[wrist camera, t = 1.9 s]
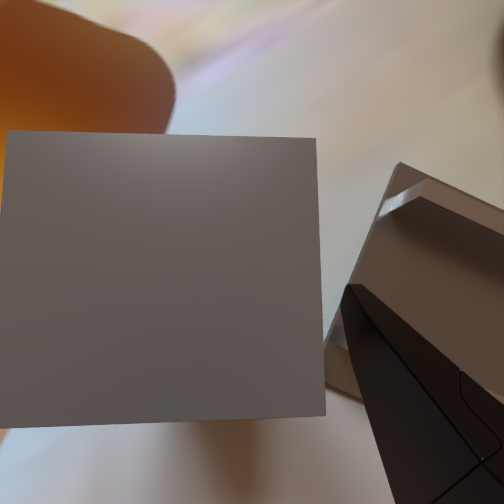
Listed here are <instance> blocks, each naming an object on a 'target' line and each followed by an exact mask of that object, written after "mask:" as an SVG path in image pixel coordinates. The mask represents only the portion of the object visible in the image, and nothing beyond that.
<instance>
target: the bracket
mask: <svg viewBox="0 0 504 504" xmlns="http://www.w3.org/2000/svg"><path fill="white" fill-rule="evenodd" d="M348 283H361V284H363V285H364V286H365V287H366V288H367V289H369V290H370V291H371V292H372V293H373V294H374V295H376V296H377V297H378V298H379V299H380V300H381V301H382V302H384V303H385V304H386V305H387V306H388V307H389V308H391V309H392V310H393V311H394V312H395V313H396V314H398V315H399V316H400V317H401V318H402V319H403V320H405V321H406V322H407V323H408V324H409V325H410V326H411V327H413V328H414V329H415V330H416V331H417V332H418V333H420V334H421V335H422V336H423V337H424V338H425V339H427V340H428V341H429V342H430V343H431V344H432V345H434V346H435V347H436V348H437V349H438V350H439V351H441V352H442V353H443V354H444V355H445V356H446V357H447V358H449V359H450V360H451V361H452V362H453V363H454V364H456V365H457V366H458V367H459V368H460V371H461V370H462V371H464V372H465V373H466V374H467V375H469V376H470V377H471V378H472V379H473V380H474V381H475V382H477V383H478V384H479V385H480V386H482V387H483V388H484V389H485V390H486V391H488V392H489V393H490V394H491V395H492V396H494V397H495V398H496V399H497V400H499V401H500V402H501V403H502V404H504V210H502V209H500V208H498V207H495V206H493V205H491V204H489V203H487V202H485V201H483V200H480V199H478V198H476V197H474V196H472V195H470V194H468V193H465V192H463V191H461V190H459V189H457V188H455V187H453V186H451V185H448V184H446V183H444V182H442V181H440V180H438V179H436V178H433V177H431V176H429V175H427V174H425V173H423V172H421V171H419V170H416V169H414V168H412V167H410V166H408V165H406V164H404V163H401V162H400V163H398V164H397V165H396V166H395V169H394V171H393V174H392V176H391V179H390V181H389V184H388V186H387V189H386V191H385V193H384V196H383V198H382V201H381V203H380V206H379V208H378V211H377V213H376V216H375V218H374V221H373V223H372V226H371V228H370V230H369V233H368V235H367V238H366V240H365V243H364V245H363V248H362V250H361V253H360V255H359V258H358V260H357V263H356V265H355V267H354V270H353V272H352V275H351V277H350V280H349V282H348ZM340 303H341V302H340ZM323 346H324V373H325V383H327V384H329V385H331V386H334V387H336V388H338V389H340V390H342V391H345V392H347V393H349V394H351V395H353V396H356V397H358V398H360V399H362V396H361V393H360V389H359V386H358V383H357V380H356V377H355V373H354V370H353V367H352V364H351V360H350V357H349V352H348V347H347V342H346V337H345V332H344V326H343V321H342V316H341V310H340V304H339V307H338V309H337V312H336V314H335V317H334V319H333V322H332V324H331V327H330V329H329V332H328V334H327V337H326V339H325V342H324V344H323ZM362 400H363V399H362Z"/></svg>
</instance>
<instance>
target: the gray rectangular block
mask: <svg viewBox="0 0 504 504" xmlns="http://www.w3.org/2000/svg"><path fill="white" fill-rule="evenodd" d="M315 416H326V401H325V373H324V346H323V319H322V291H321V264H320V237H319V210H318V182H317V155H316V138H288V137H248V136H208V135H168V134H128V133H127V134H126V133H86V132H48V131H8V132H7V144H6V155H5V167H4V179H3V191H2V203H1V214H0V429H2V428H3V429H4V428H30V427H56V426H82V425H108V424H134V423H160V422H185V421H211V420H237V419H263V418H289V417H315Z"/></svg>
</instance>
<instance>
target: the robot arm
mask: <svg viewBox="0 0 504 504" xmlns="http://www.w3.org/2000/svg"><path fill="white" fill-rule="evenodd" d="M340 310H341V316H342V321H343V326H344V332H345V337H346V342H347V347H348V352H349V357H350V360H351V364H352V367H353V370H354V373H355V377H356V380H357V383H358V386H359V389H360V393H361V396H362V399H363V402H364V405H365V409H366V412H367V415H368V418H369V421H370V424H371V428H372V431H373V434H374V437H375V440H376V444H377V447H378V450H379V453H380V456H381V460H382V463H383V466H384V469H385V472H386V476H387V479H388V482H389V485H390V488H391V491H392V495H393V498H394V501H395V504H504V404H502V403H501V402H500V401H499V400H497V399H496V398H495V397H494V396H492V395H491V394H490V393H489V392H488V391H486V390H485V389H484V388H483V387H482V386H480V385H479V384H478V383H477V382H475V381H474V380H473V379H472V378H471V377H470V376H469V375H467V374H466V373H465V372H464V371H462V370H461V371H460V368H459V367H458V366H457V365H456V364H454V363H453V362H452V361H451V360H450V359H449V358H447V357H446V356H445V355H444V354H443V353H442V352H441V351H439V350H438V349H437V348H436V347H435V346H434V345H432V344H431V343H430V342H429V341H428V340H427V339H425V338H424V337H423V336H422V335H421V334H420V333H418V332H417V331H416V330H415V329H414V328H413V327H411V326H410V325H409V324H408V323H407V322H406V321H405V320H403V319H402V318H401V317H400V316H399V315H398V314H396V313H395V312H394V311H393V310H392V309H391V308H389V307H388V306H387V305H386V304H385V303H384V302H382V301H381V300H380V299H379V298H378V297H377V296H376V295H374V294H373V293H372V292H371V291H370V290H369V289H367V288H366V287H365V286H364V285H363V284H361V283H348V284H347V285H346V286H345V289H344V293H343V296H342V299H341V303H340Z"/></svg>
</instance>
